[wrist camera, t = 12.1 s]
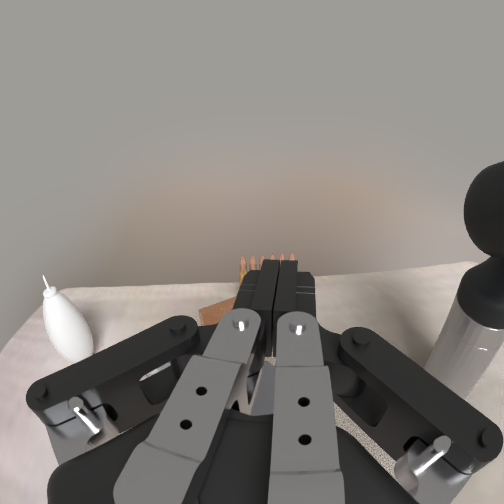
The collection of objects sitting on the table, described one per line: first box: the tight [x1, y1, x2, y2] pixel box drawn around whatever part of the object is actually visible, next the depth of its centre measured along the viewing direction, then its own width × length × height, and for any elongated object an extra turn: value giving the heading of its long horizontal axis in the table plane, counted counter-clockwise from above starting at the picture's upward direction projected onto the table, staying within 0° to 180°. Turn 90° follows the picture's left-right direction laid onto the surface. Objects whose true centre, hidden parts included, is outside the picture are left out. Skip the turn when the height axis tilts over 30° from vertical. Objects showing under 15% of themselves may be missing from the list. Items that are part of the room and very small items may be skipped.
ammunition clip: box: [240, 253, 295, 286], centre depth 52 cm, size 11×2×12 cm, turn 94°
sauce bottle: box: [43, 276, 93, 364], centre depth 37 cm, size 8×8×18 cm
